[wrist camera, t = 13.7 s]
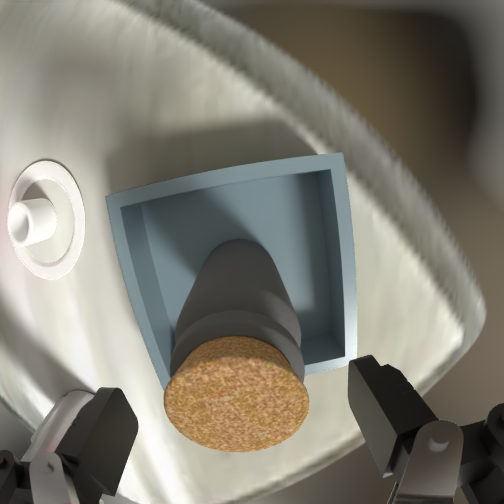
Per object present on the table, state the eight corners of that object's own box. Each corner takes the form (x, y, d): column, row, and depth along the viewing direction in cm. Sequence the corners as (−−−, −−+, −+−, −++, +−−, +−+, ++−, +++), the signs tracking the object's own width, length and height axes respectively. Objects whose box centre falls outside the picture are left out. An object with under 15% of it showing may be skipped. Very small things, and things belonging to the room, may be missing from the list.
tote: (175, 359, 25) (164, 390, 20) (132, 193, 22) (105, 196, 17) (339, 334, 25) (356, 363, 20) (322, 159, 21) (342, 152, 16)
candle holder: (78, 294, 24) (55, 311, 20) (7, 253, 23) (-17, 262, 19) (102, 177, 22) (76, 176, 17) (24, 151, 20) (-3, 149, 16)
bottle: (214, 313, 23) (184, 465, 8) (194, 247, 22) (116, 354, 7) (282, 299, 23) (331, 444, 8) (267, 230, 22) (318, 317, 7)
